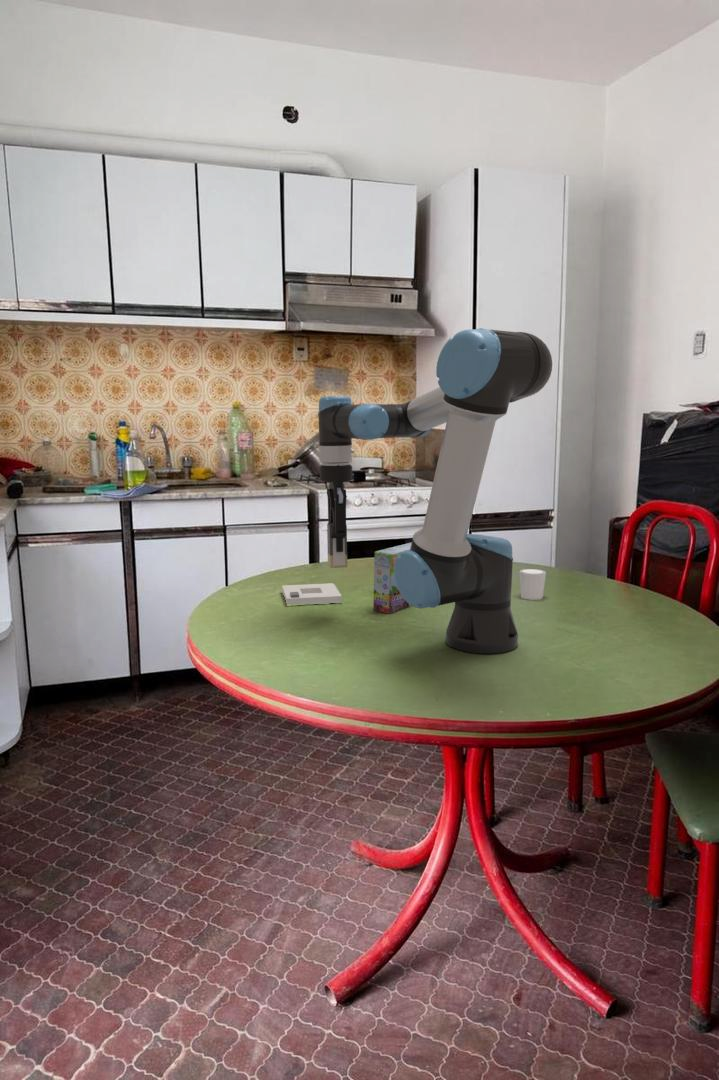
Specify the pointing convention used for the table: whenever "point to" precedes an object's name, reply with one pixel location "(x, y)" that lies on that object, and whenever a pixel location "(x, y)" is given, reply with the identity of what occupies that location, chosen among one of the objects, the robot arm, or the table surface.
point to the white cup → (532, 583)
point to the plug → (330, 546)
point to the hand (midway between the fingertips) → (337, 563)
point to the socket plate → (311, 594)
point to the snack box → (387, 580)
